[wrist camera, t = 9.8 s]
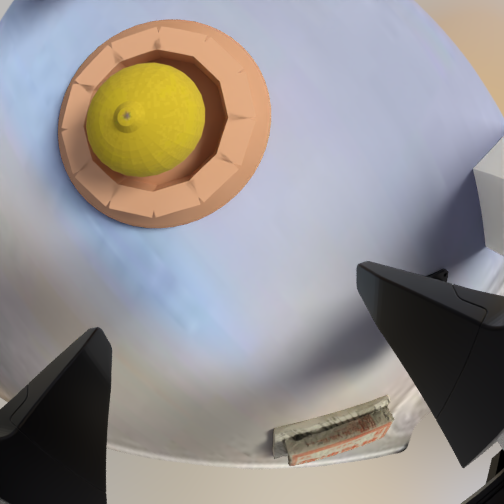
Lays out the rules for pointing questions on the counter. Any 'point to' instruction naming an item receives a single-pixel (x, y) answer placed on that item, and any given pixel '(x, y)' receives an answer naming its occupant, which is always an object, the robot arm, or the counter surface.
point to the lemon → (145, 119)
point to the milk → (492, 196)
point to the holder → (213, 136)
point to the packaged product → (333, 432)
